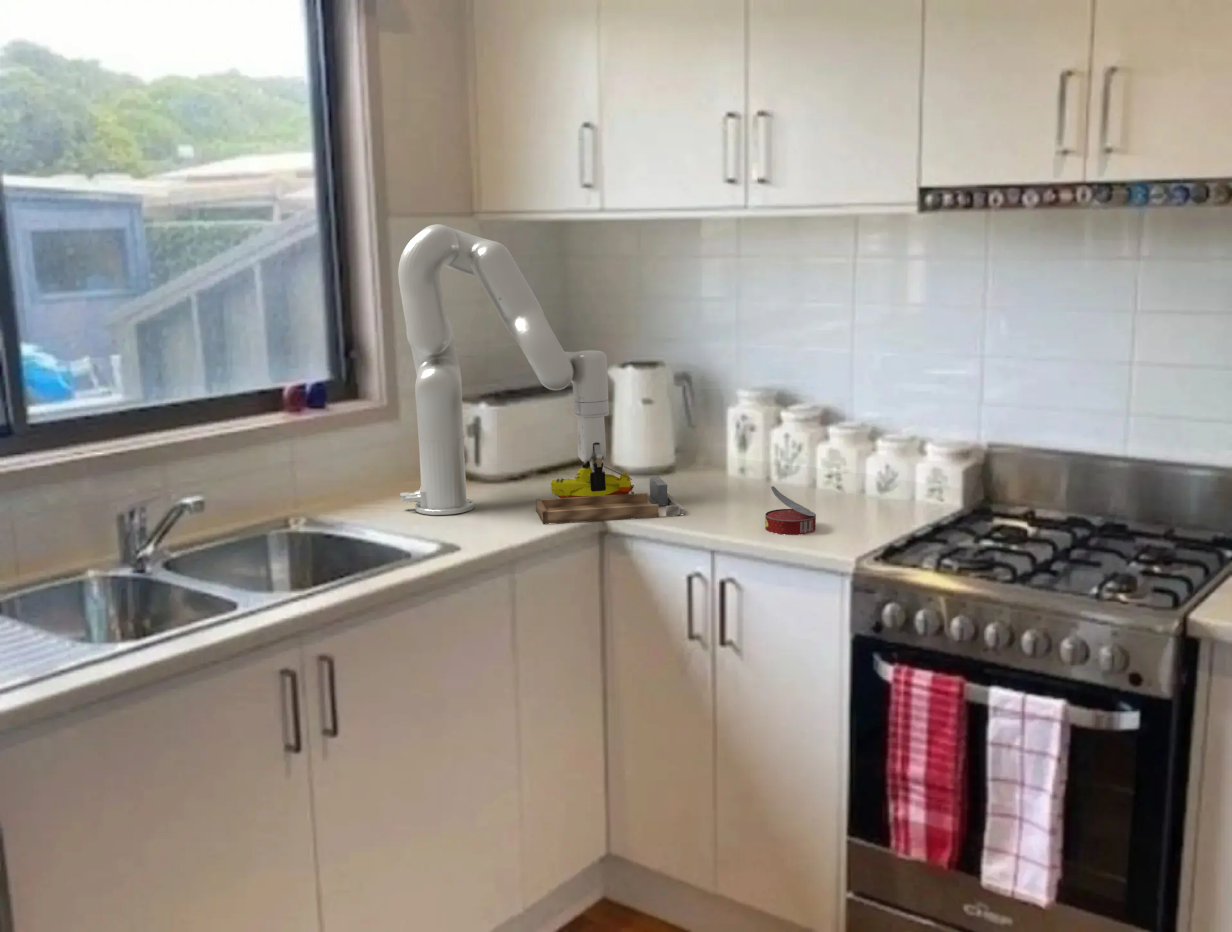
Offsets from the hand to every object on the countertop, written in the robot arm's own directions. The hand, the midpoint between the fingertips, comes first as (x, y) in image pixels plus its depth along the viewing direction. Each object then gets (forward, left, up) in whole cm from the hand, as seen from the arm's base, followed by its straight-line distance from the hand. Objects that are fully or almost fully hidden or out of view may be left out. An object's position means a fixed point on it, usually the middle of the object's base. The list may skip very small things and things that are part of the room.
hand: (594, 486), depth 263 cm
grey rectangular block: (+14, -3, -4) cm, 14 cm away
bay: (+1, -7, -4) cm, 8 cm away
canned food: (+34, -33, -4) cm, 47 cm away
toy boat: (0, 0, -4) cm, 4 cm away
